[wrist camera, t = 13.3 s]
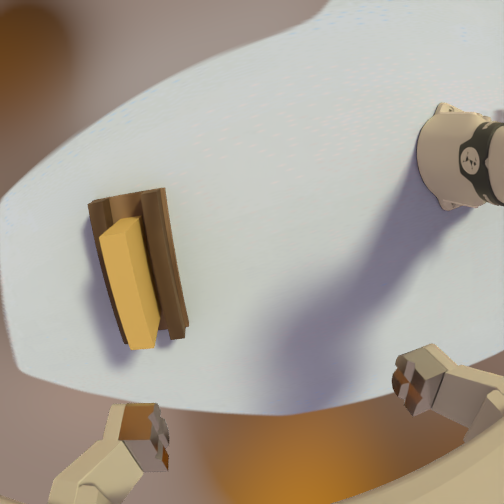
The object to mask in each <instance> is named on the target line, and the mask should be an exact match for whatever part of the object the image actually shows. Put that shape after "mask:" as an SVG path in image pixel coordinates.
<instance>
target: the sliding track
mask: <svg viewBox="0 0 504 504" xmlns="http://www.w3.org/2000/svg"><path fill="white" fill-rule="evenodd" d="M88 209H89V215H90V220H91V225H92V230H93V235H94V239H95V244H96V248H97V253H98V257H99V261H100V265H101V269H102V273H103V277H104V280H105V284H106V288H107V291H108V295H109V298H110V302H111V305H112V308H113V311H114V315H115V318H116V321H117V324H118V327H119V330H120V333H121V336H122V339H123V342H124V344H128V341H127V338H126V335H125V332H124V329H123V326H122V322H121V319H120V316H119V313H118V310H117V306H116V303H115V299H114V296H113V292H112V289H111V285H110V281H109V278H108V274H107V270H106V266H105V262H104V258H103V253H102V249H101V245H100V240H99V237H100V236H101V235H102V234H103V233H104V232H105V231H107V230H108V229H109V228H110V227H111V226H112V225H114V224H115V223H116V222H117V221H118V220H120V219H123V218H129V217H135V216H142V220H143V226H144V232H145V237H146V242H147V248H148V253H149V258H150V262H151V267H152V272H153V277H154V281H155V285H156V290H157V294H158V298H159V303H160V307H161V311H162V313H161V317H160V322H159V327H158V330H164V329H168V331H169V335H170V339H171V340H174V339H182V338H185V327H189V321H188V316H187V311H186V307H185V302H184V297H183V292H182V287H181V282H180V277H179V271H178V266H177V261H176V255H175V249H174V243H173V238H172V231H171V225H170V219H169V212H168V206H167V199H166V192H165V188H159V189H152V190H146V191H140V192H135V193H129V194H124V195H118V196H113V197H108V198H102V199H97V200H94V201H92V202H91V203H89V204H88Z"/></svg>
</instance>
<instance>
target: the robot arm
mask: <svg viewBox="0 0 504 504" xmlns="http://www.w3.org/2000/svg"><path fill="white" fill-rule="evenodd" d="M417 161H418V167H419V171H420V174H421V177H422V179H423V181H424V183H425V185H426V186H427V187H428V189H429V190H430V191H431V192H432V193H433V194H434V195H435V196H436V197H437V198H438V201H439V203H440V205H441V207H442V209H443V210H447V211H450V210H453V209H455V208H458V207H460V206H468V207H472V208H478V206H481V205H483V204H485V203H486V202H489V203H491V204H493V205H497V206H499V205H500V206H504V123H501V122H496V121H492V122H491V118H490V117H487V116H482V114H479V113H474V112H464V111H462V110H460V109H458V108H456V107H454V106H452V105H450V104H448V103H440V104H439V105H438V107H437V110H436V112H435V114H434V116H433V117H432V118H430V119H429V120H428V121H427V122H426V124H425V125H424V126H423V128H422V130H421V133H420V135H419V139H418V145H417ZM395 365H396V366H397V369H396V371H395V372H394V373H393V376H392V387H393V390H394V392H395V394H396V395H397V396H398V397H399V398H401V399H404V406H405V407H406V408H407V410H408V411H409V412H410V414H411V415H412V416H415V415H418V414H420V413H423V412H425V411H427V410H429V409H431V410H433V411H435V412H437V413H439V414H441V415H443V416H445V417H447V418H449V419H451V420H453V421H455V422H457V423H459V424H461V425H463V426H466V427H468V428H469V430H468V432H467V433H466V435H465V437H464V442H465V443H464V444H463V445H461V446H460V447H458V448H456V449H455V450H453V451H451V452H450V453H448V454H446V455H445V456H443V457H441V458H439V459H437V460H435V461H434V462H432V463H430V464H428V465H426V466H424V467H422V468H420V469H418V470H416V471H414V472H412V473H410V474H408V475H406V476H403V477H401V478H399V479H397V480H394V481H392V482H390V483H387V484H385V485H383V486H380V487H378V488H375V489H373V490H370V491H367V492H365V493H362V494H359V495H357V496H353V497H351V498H348V499H345V500H341V501H339V502H335V503H332V504H504V376H500V375H496V374H493V373H489V372H485V371H481V370H478V369H474V368H471V367H467V366H464V365H459V366H458V365H457V364H456V363H455V362H454V361H452V360H451V359H450V358H449V357H448V356H447V355H446V354H445V353H444V352H443V351H442V350H441V349H440V348H438V347H437V346H436V345H435V344H432V343H431V344H429V345H426V346H423V347H421V348H418V349H415V350H413V351H410V352H407V353H404V354H402V355H399V356H398V357H397V359H396V363H395ZM160 415H161V410H160V408H159V405H158V404H157V403H127V404H113V405H112V406H111V408H110V411H109V415H108V419H107V422H106V427H105V430H104V434H103V439H102V440H98V441H96V442H95V443H94V444H93V445H92V446H91V447H90V448H89V449H88V450H86V451H85V452H84V453H83V454H82V455H81V456H80V457H79V458H77V459H76V460H75V461H74V462H73V463H72V464H71V465H69V466H68V467H67V468H66V469H65V470H64V471H63V472H61V473H60V474H59V475H58V476H57V477H56V478H55V479H54V481H53V485H52V489H51V492H50V496H49V500H48V503H47V504H121V503H122V502H123V501H124V499H125V498H126V497H127V495H128V494H129V493H130V491H131V490H132V489H133V487H134V486H135V485H136V483H137V482H138V480H139V479H140V478H141V476H142V475H143V472H166V471H168V460H169V455H168V453H167V451H166V448H167V447H168V446H169V432H168V427H167V424H166V422H165V419H163V418H161V417H160ZM0 504H25V503H22V502H19V501H16V500H13V499H10V498H8V497H5V496H2V495H0Z"/></svg>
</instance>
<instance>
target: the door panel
mask: <svg viewBox="0 0 504 504" xmlns="http://www.w3.org/2000/svg"><path fill="white" fill-rule="evenodd" d="M99 240H100V245H101V249H102V253H103V258H104V262H105V266H106V270H107V274H108V278H109V281H110V285H111V289H112V292H113V296H114V299H115V303H116V306H117V310H118V313H119V316H120V319H121V322H122V326H123V329H124V332H125V335H126V338H127V341H128V344H129V347H130V349H131V350H137V349H148V348H154V346H155V341H156V336H157V331H158V327H159V322H160V317H161V313H162V311H161V307H160V303H159V298H158V294H157V290H156V285H155V281H154V277H153V272H152V267H151V262H150V258H149V253H148V248H147V242H146V237H145V232H144V226H143V220H142V216H135V217H129V218H123V219H120V220H118V221H117V222H116V223H115V224H114V225H112V226H111V227H110V228H109V229H108V230H107V231H105V232H104V233H103V234H102V235H101V236H100V237H99Z"/></svg>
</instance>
